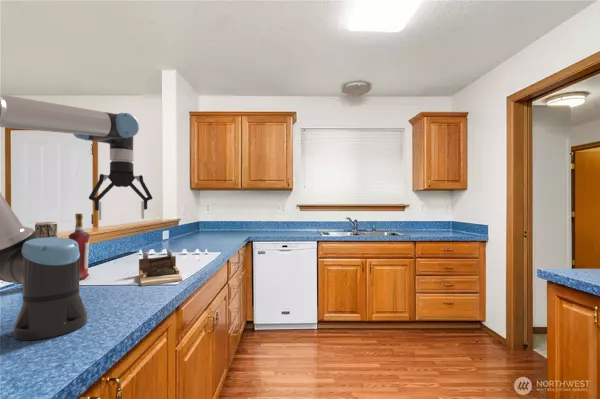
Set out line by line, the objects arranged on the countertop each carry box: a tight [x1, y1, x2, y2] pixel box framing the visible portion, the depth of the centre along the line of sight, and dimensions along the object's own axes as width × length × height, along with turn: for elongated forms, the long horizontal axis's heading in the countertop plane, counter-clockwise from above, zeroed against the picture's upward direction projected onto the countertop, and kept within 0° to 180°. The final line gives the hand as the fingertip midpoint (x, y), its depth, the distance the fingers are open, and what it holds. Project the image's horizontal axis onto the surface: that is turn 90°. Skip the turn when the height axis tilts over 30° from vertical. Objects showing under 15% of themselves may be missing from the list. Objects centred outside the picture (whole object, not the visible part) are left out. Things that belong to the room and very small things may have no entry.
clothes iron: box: [146, 255, 175, 277], centre depth 133 cm, size 7×11×10 cm, turn 130°
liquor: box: [68, 213, 91, 281], centre depth 131 cm, size 7×7×28 cm
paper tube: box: [34, 221, 58, 238], centre depth 121 cm, size 7×7×25 cm
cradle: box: [138, 249, 183, 287], centre depth 133 cm, size 20×15×10 cm
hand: (122, 219), depth 113 cm, fingers open, 13 cm apart
